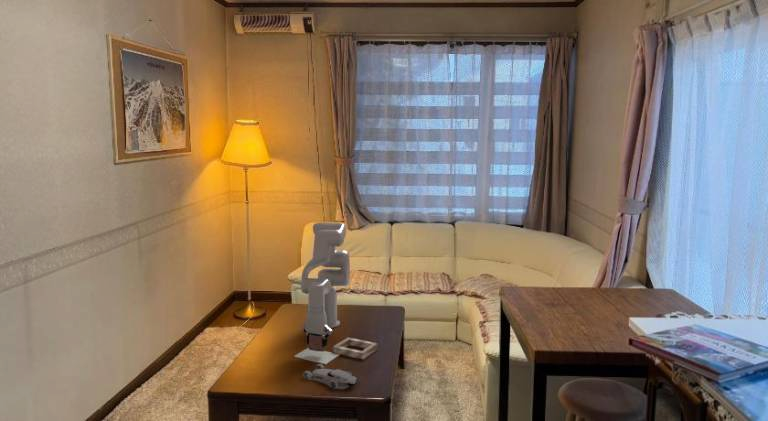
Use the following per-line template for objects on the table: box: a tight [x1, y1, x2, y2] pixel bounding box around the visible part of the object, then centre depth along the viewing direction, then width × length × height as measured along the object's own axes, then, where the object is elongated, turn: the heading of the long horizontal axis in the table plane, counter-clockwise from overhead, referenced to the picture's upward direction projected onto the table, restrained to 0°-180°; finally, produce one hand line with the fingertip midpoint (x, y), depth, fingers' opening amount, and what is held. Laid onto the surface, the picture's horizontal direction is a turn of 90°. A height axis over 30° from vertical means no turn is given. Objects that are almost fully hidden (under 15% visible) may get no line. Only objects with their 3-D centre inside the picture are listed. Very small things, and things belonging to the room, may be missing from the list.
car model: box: [302, 363, 357, 390], centre depth 229 cm, size 11×24×5 cm, turn 58°
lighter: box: [308, 333, 326, 352], centre depth 253 cm, size 8×3×10 cm, turn 71°
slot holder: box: [332, 337, 379, 360], centre depth 260 cm, size 17×14×3 cm
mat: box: [293, 347, 341, 365], centre depth 254 cm, size 18×12×1 cm, turn 63°
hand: (316, 344), depth 253 cm, fingers closed on lighter, 8 cm apart
